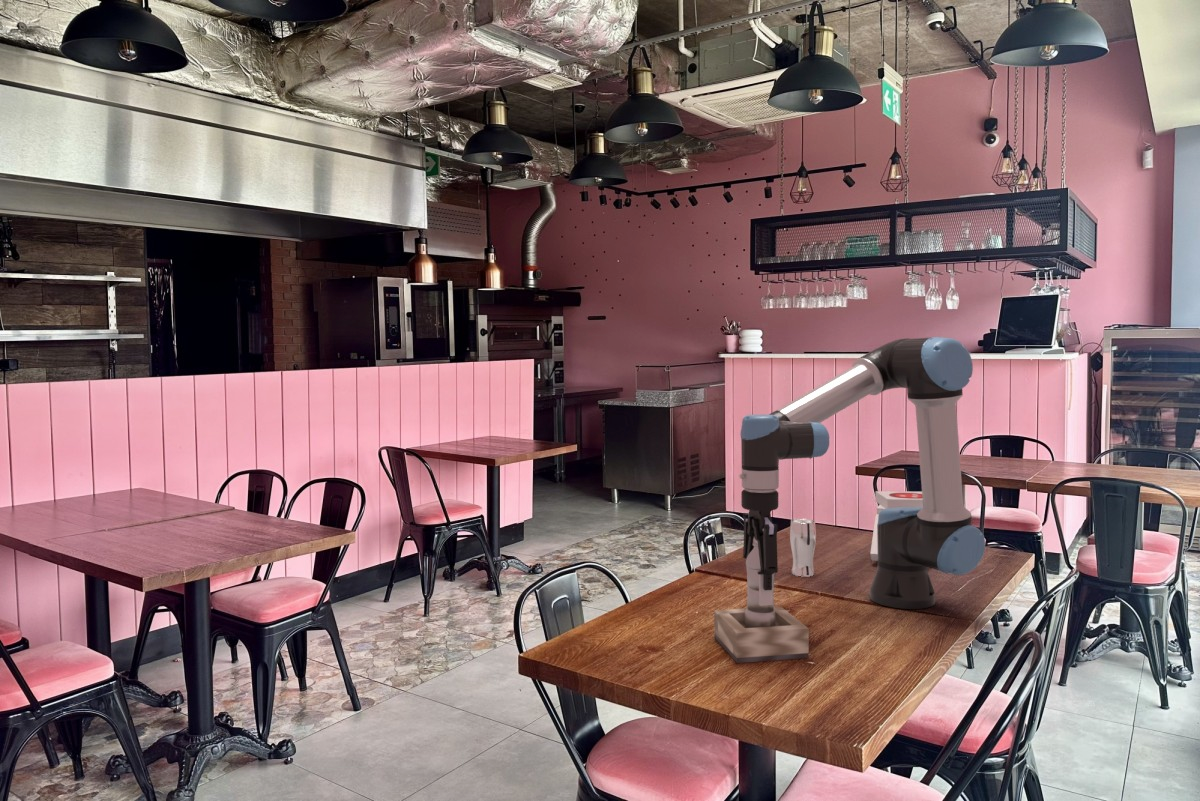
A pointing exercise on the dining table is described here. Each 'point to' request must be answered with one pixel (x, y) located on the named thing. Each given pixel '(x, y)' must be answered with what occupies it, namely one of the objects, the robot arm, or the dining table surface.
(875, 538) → the pizza boxes
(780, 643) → the bottle holder
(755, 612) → the plastic bottle
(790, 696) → the dining table surface
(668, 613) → the dining table surface
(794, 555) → the beer glass
